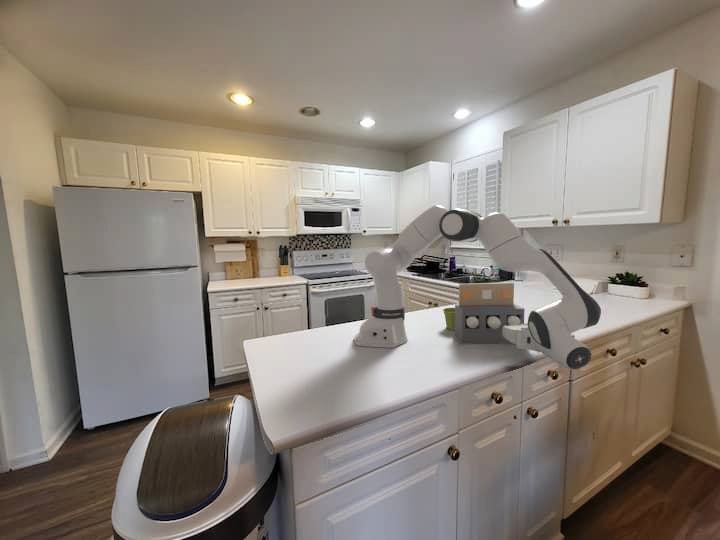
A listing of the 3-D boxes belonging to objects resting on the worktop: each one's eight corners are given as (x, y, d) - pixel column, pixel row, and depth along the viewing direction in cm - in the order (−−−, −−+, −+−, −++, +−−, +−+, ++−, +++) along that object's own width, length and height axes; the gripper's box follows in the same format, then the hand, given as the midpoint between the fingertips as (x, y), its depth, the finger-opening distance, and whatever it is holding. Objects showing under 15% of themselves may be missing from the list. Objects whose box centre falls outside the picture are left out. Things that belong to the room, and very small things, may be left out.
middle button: (489, 328, 114) (489, 317, 114) (485, 325, 118) (485, 315, 117) (500, 328, 114) (500, 317, 114) (496, 325, 118) (497, 315, 117)
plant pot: (440, 330, 135) (440, 311, 134) (445, 324, 144) (445, 306, 143) (462, 332, 131) (462, 313, 130) (465, 326, 139) (465, 308, 138)
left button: (467, 328, 116) (467, 317, 115) (464, 325, 120) (464, 314, 119) (478, 328, 116) (478, 317, 115) (475, 325, 119) (475, 314, 119)
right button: (508, 327, 115) (509, 316, 115) (504, 324, 119) (504, 314, 118) (520, 327, 115) (520, 316, 115) (515, 324, 119) (516, 313, 118)
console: (461, 344, 118) (462, 287, 115) (454, 335, 128) (455, 283, 125) (523, 343, 117) (525, 286, 114) (511, 334, 126) (513, 281, 124)
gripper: (578, 328, 94) (552, 316, 108) (513, 329, 95) (495, 318, 109) (577, 347, 95) (551, 333, 109) (513, 348, 96) (495, 334, 110)
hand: (523, 325), depth 109 cm, fingers closed
